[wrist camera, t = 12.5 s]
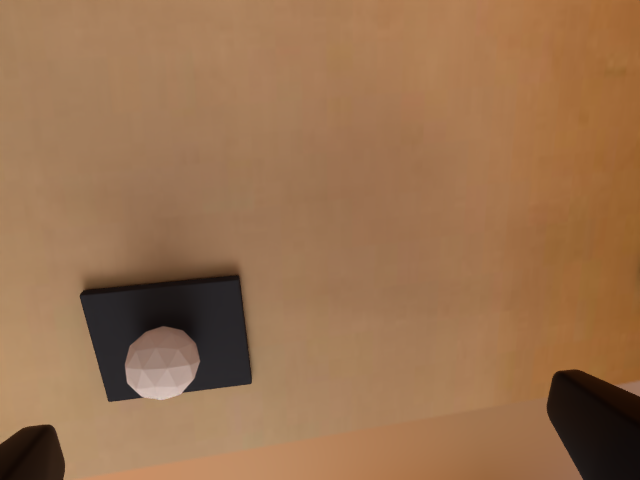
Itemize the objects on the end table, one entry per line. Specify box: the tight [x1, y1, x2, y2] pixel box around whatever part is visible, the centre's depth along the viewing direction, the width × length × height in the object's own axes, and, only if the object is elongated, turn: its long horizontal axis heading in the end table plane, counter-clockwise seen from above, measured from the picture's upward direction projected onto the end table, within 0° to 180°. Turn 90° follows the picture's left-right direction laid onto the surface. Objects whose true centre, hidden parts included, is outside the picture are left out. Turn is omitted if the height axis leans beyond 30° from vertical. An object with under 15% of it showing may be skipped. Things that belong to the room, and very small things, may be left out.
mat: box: [80, 275, 252, 402], centre depth 20 cm, size 7×6×1 cm
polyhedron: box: [125, 326, 200, 400], centre depth 18 cm, size 3×3×3 cm
